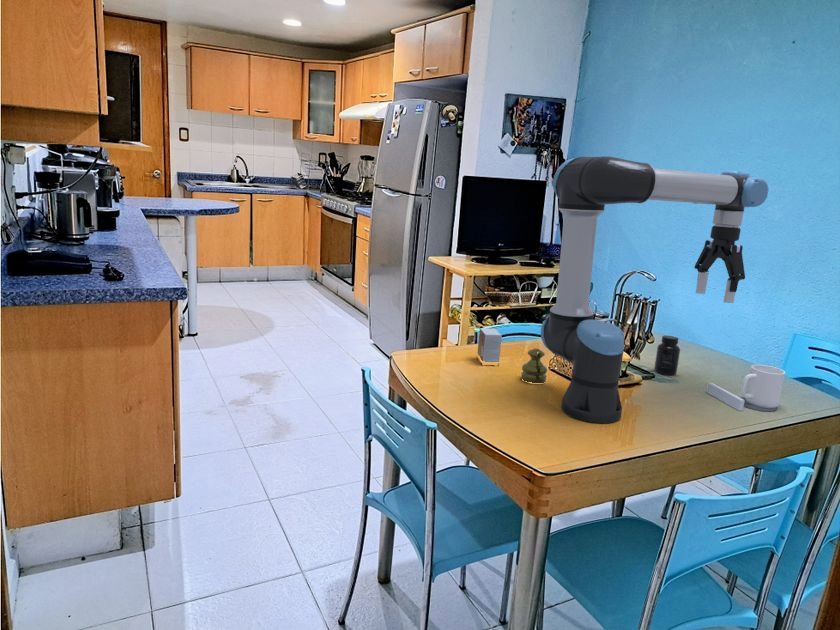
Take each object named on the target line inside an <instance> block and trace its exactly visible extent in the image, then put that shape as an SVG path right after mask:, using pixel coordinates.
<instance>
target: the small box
mask: <svg viewBox="0 0 840 630" xmlns="http://www.w3.org/2000/svg"><path fill="white" fill-rule="evenodd" d="M478 334H479V335H478V343H477V344H478V346H477V354H478V355H479V356H480V358H481V360H482V361H485V362H499V363H500V357H501V350H502V349H501V347H502V346H501V345H502V338H503V337H502V334H501V333H500V331H498V330H497V329H496V328H484V327H483V328H479V333H478Z"/></svg>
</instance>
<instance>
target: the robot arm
mask: <svg viewBox="0 0 840 630" xmlns="http://www.w3.org/2000/svg"><path fill="white" fill-rule="evenodd" d="M552 187H553V192H554V193H555V195H556V197H557V199H559V201H558V210H559V211H560V213H561V214H562V215H563V223H562V231H561V232H562V233H561V234H562V235H561V244H560V255H559V256H560V257H559V270H558V278H557V279H558V280H557V290H556V291H557V293H556V302H555V304H554V305H553V306H551V307H550V309H549V315H547V316H546V319H545V320H543V322H542V324H541V328H540V337H541V341H542V343H543V346H544V347H545V348H546V349H547V350H549V351H550V352H551V353H552V354H554V355H555V356H557V357H560V358H561V359H563V360H565V361H567V362H569V363H571V364H572V373H571V379H570V383H569V385H568V387H567V389H566V391H565V393H564V395H563V397H562V400H561V405H560V408H561V411H563V413H565V414H566V415H567V416H569V417H571V418H573V419H575V420H579V421H583V422H588V423H596V424H611V423H615V422H618V421H619V420H621V418H622V414H623V407H622V401H621V397H620V393H619V392H620V391H619V381H620V375H621V374H620V373H621V369H622V363H623V361H622V360H623V355H624V350H625V333H624V331H623V330H622V329H621V327H618V326H617V325H616V324H613V323H610V322H605V321H604V320H599V319H594V311H593V310H592V308H590V306H589V305H590V296H591V295H590V294H591V293H590V292H591V283H592V277H593V274H592V273H593V264H594V256H595V255H594V254H595V246H596V245H595V243H596V233H597V225H598V217H599V216H600V215H602V214H603V213H604V212H605V207H606V206H605V205H615V204H616V205H618V204H643V203H646V202H648V200H649V201H650V200H651V201H663V202H678V203H692V204H695V205H696V204H703V205H704V204H705V205H715V206H714V212H713V213H714V214H713V217H712V224H713V226H711V231H710V239H713V240H710V239H705V241H704V246H703V249H702V250H701V252H700V255H699V257H698V259H697V261H696V262H695V265H694V269H695V270H697V272H698V274H697V279H696V280H697V281H696V288H695V294H697V295H699V294H700V295H701V294H702V295H705V294H706V290H707V284H708V279H709V272H710V271H709V269H710V268H711V267H712V266H713V265H714V263H715V262H716V260H717V259H718V258H719V259H721V260H722V261H723V262H724V265H725V268H726V271H727V274H728V278H727V280H726V284H725V285H726V286H725V291H724V296H723V303H725V304H726V303H727V304H734V302H735V299H736V298H735V296H736V293H737V291H738V285H739V282H740V281H742V280H745V279H746V274H745V268H744V267H745V265H744V259H743V245H741V244H736V243H735V242H739V240H740V236H741V232H742V231H741V230H742V229H741V228H740V227H741V226H742V224H743V223H742V222H743V217H744V212H745V208H756V207H759V206H761V205H762V204H763V203H764V202H765V201H766V199H767V198H768V194H769V185H768V182H767V181H766V180H765V179H764V178H762V177H756V176H751V175H750V172H747V171H741V170H739V171H738V170H724V171H722V172H721V173H720V174H718V173H707V172H697V171H686V170H675V169H666V168H665V169H664V168H658V167H657V168H654V167H653V165H651V164H650V163H647V162H639V161H634V160H628V159H623V158H619V157H614V156H613V157H612V156H607V155H606V156H605V155H604V156H577V157H573V158H570V159H567V160H566V161H564V162H563V163H561V164H560V166H558V168H557V169H556V172H555V173H554V175H553V180H552Z"/></svg>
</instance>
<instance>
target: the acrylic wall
mask: <svg viewBox="0 0 840 630" xmlns="http://www.w3.org/2000/svg"><path fill="white" fill-rule="evenodd" d="M706 393H707V394H709V395H710V396H712V397H714V398H716V399H718V400H720V401H721V402H722V403H724V404H726V405H727V406H730V407H731V408H734V410H736V411H742V412H743V411H744V401H745V400H743V399H741V398H740V397H739V396H738V395H736V394H734V393H732V392H730V391H728V390H726V389H724V388H722V387H721V386H719V385H717V384H715V383H713V382H707V388H706Z"/></svg>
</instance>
